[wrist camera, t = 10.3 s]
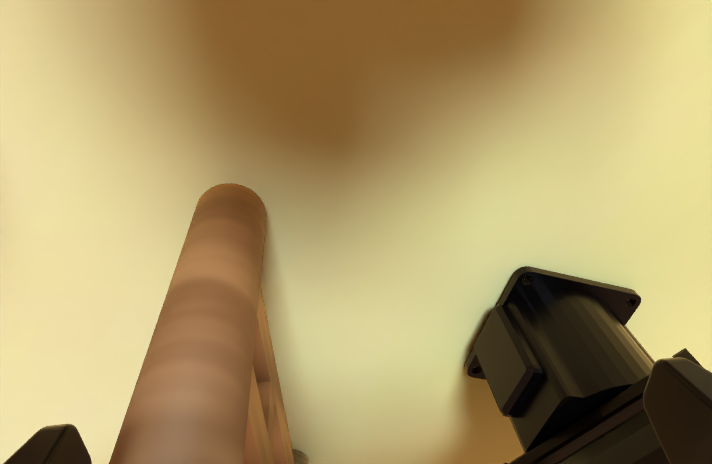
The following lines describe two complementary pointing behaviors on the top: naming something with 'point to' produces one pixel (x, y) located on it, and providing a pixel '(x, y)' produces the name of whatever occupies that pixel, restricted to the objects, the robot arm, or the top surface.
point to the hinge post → (299, 457)
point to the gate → (211, 351)
